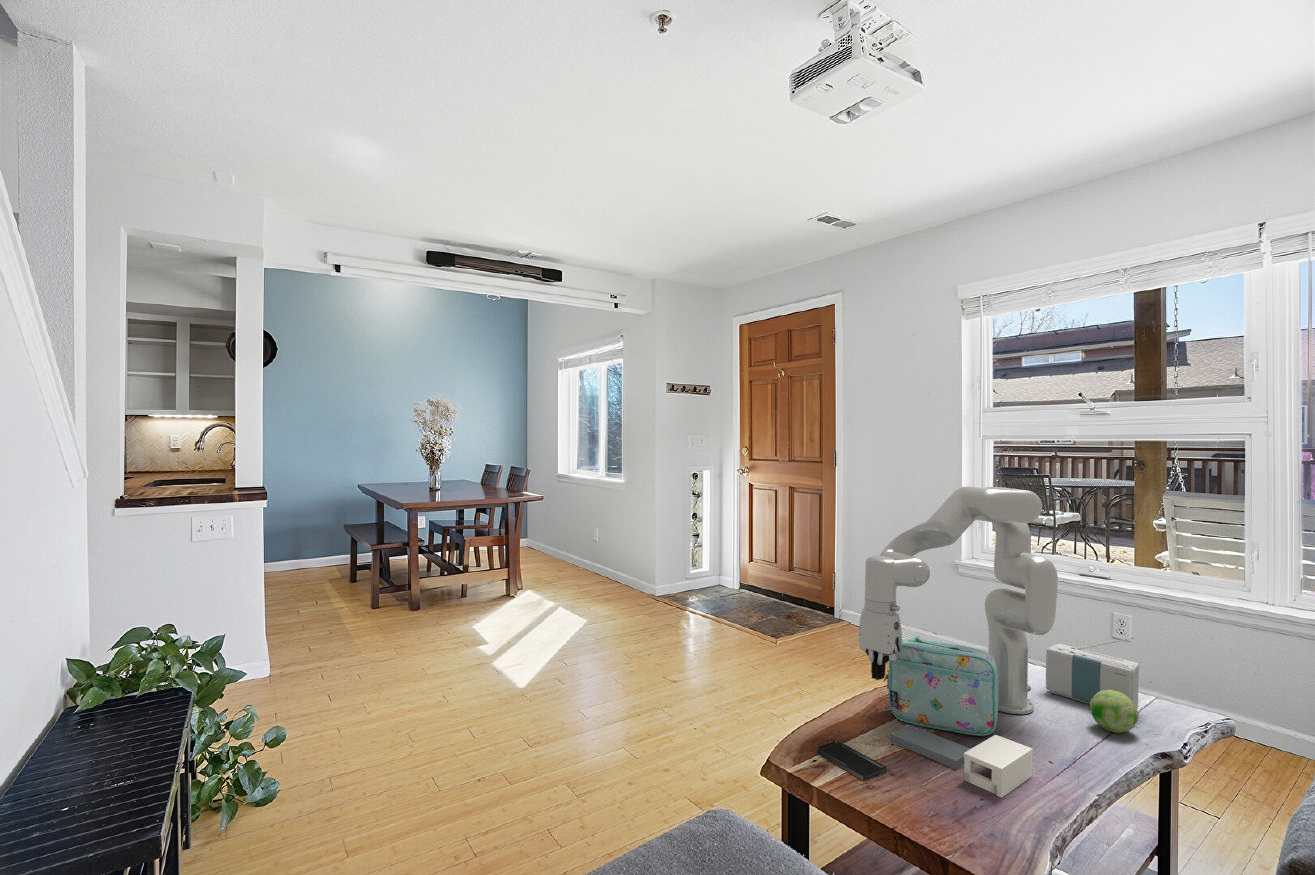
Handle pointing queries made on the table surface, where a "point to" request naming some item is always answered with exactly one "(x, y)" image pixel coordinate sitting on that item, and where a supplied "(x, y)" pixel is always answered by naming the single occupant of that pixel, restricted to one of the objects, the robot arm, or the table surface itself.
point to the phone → (851, 760)
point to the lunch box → (944, 687)
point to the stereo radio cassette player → (1089, 673)
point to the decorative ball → (1114, 711)
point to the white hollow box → (999, 764)
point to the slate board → (930, 746)
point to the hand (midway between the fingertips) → (878, 678)
